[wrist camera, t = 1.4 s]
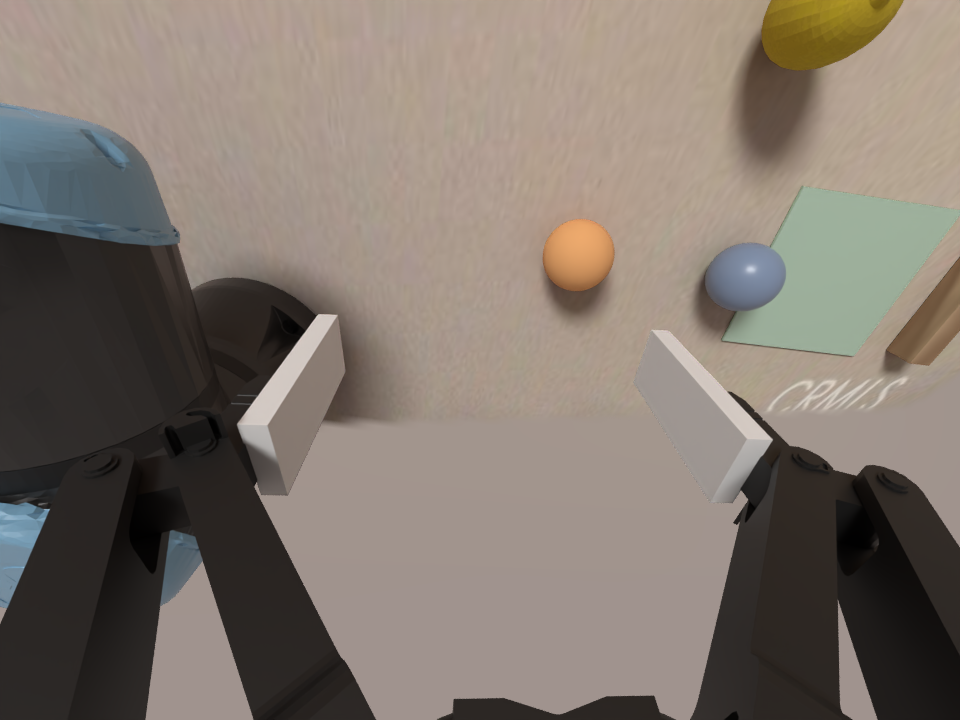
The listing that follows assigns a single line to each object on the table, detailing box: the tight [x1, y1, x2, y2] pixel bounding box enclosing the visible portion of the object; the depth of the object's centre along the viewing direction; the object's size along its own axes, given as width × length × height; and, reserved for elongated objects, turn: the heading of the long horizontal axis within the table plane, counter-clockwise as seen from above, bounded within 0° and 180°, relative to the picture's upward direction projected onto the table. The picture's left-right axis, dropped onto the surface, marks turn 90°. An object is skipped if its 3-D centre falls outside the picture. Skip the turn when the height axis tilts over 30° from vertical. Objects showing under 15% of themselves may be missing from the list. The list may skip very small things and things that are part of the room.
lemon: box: [762, 0, 903, 70], centre depth 22 cm, size 6×6×8 cm
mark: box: [721, 186, 960, 356], centre depth 35 cm, size 14×14×1 cm
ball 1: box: [543, 219, 614, 291], centre depth 31 cm, size 6×6×6 cm
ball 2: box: [705, 243, 786, 311], centre depth 32 cm, size 6×6×6 cm
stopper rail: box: [887, 258, 960, 366], centre depth 35 cm, size 2×12×2 cm, turn 173°
